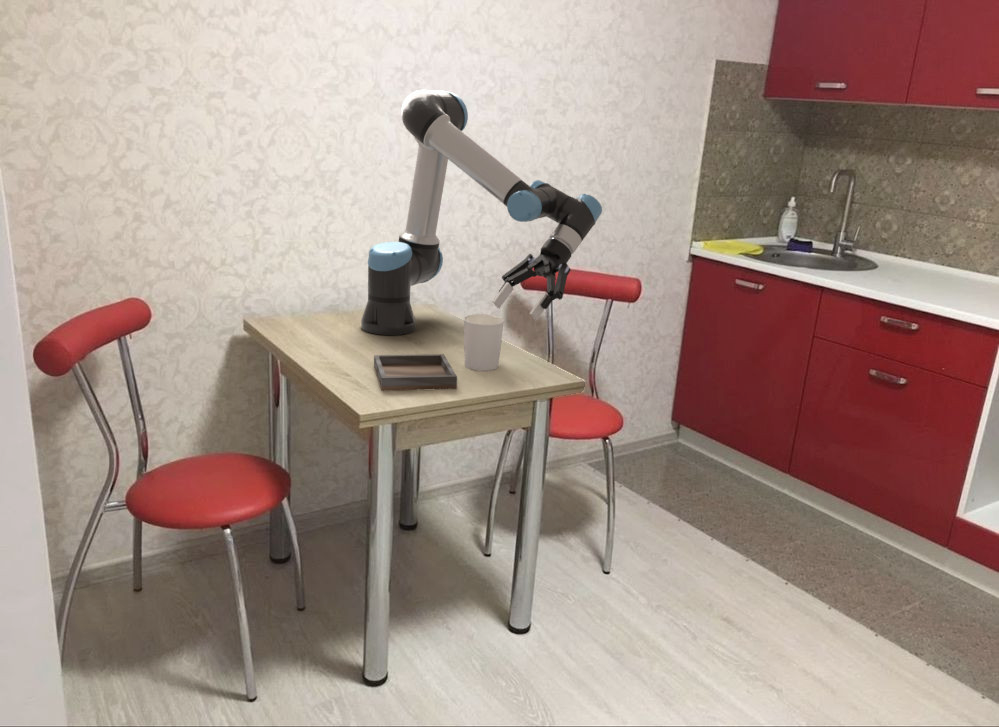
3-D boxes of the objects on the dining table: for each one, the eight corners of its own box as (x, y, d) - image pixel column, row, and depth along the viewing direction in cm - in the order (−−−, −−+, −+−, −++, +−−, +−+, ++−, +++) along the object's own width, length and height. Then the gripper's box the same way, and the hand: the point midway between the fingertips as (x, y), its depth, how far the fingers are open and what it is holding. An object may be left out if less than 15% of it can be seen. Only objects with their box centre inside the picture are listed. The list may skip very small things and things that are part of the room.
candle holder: (466, 372, 207) (469, 324, 203) (457, 360, 216) (460, 314, 212) (505, 371, 209) (508, 324, 206) (495, 359, 218) (498, 313, 215)
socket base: (373, 366, 206) (374, 355, 206) (443, 365, 211) (443, 354, 210) (381, 390, 191) (381, 378, 190) (456, 388, 195) (457, 376, 194)
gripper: (602, 264, 213) (556, 331, 208) (533, 248, 230) (488, 309, 225) (590, 245, 208) (542, 313, 203) (520, 229, 225) (474, 291, 220)
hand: (513, 311), depth 214 cm, fingers open, 13 cm apart
